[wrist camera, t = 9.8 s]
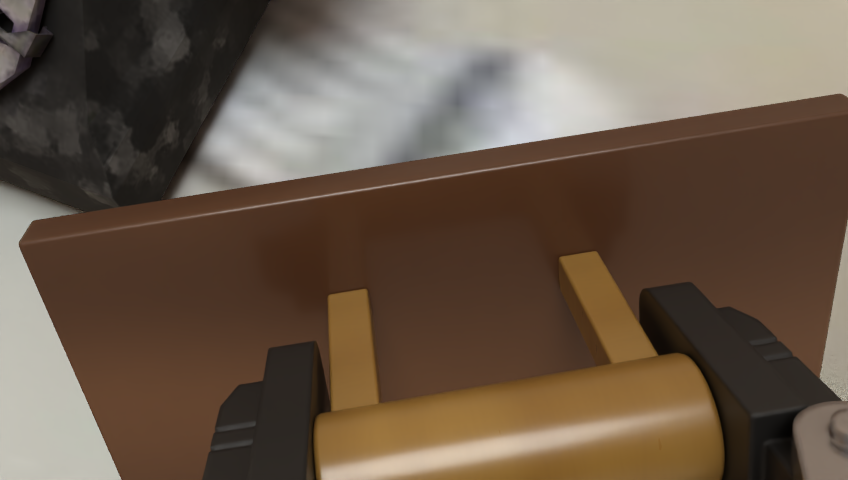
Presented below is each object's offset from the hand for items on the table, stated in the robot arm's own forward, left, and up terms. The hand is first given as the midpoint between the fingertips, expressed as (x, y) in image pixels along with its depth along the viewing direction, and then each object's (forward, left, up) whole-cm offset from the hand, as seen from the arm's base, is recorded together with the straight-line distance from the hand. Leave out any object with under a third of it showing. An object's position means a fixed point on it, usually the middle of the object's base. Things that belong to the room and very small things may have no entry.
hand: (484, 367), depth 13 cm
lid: (+1, +1, -6) cm, 6 cm away
